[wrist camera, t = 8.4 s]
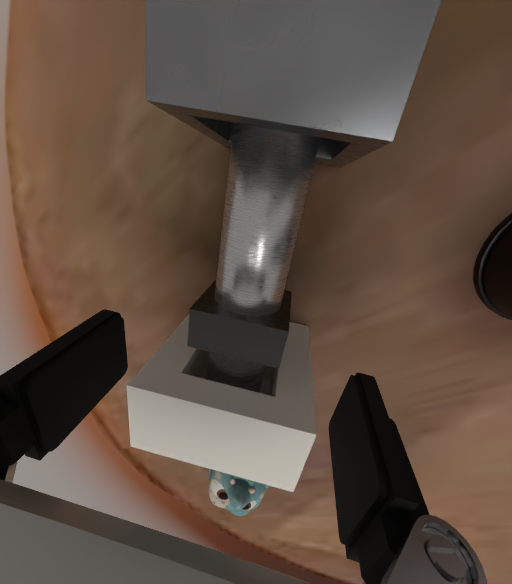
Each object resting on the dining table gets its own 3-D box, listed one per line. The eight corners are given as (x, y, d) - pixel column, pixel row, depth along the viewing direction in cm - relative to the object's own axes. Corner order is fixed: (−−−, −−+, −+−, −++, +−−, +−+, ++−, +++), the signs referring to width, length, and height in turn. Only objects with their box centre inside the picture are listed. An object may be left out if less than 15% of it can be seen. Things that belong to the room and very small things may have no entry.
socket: (199, 301, 22) (126, 385, 13) (308, 325, 22) (316, 434, 12) (196, 345, 24) (130, 446, 15) (295, 369, 24) (293, 492, 14)
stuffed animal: (329, 481, 21) (265, 564, 24) (315, 420, 28) (267, 490, 31) (218, 426, 21) (166, 518, 24) (232, 378, 28) (190, 453, 30)
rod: (242, 75, 13) (209, 8, 8) (342, 90, 12) (369, 29, 8) (209, 360, 20) (183, 412, 16) (270, 376, 20) (261, 433, 15)
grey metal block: (246, -39, 14) (138, -508, 4) (393, -22, 13) (621, -525, 4) (226, 147, 17) (146, 100, 8) (340, 167, 17) (392, 141, 7)
